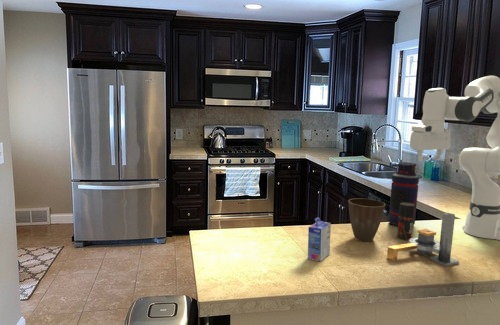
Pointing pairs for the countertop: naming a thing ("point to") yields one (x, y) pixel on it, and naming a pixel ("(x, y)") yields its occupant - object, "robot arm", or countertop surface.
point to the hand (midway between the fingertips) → (429, 160)
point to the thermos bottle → (403, 189)
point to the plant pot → (365, 217)
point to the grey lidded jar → (425, 240)
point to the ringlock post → (438, 247)
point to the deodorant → (405, 221)
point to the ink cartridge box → (319, 240)
